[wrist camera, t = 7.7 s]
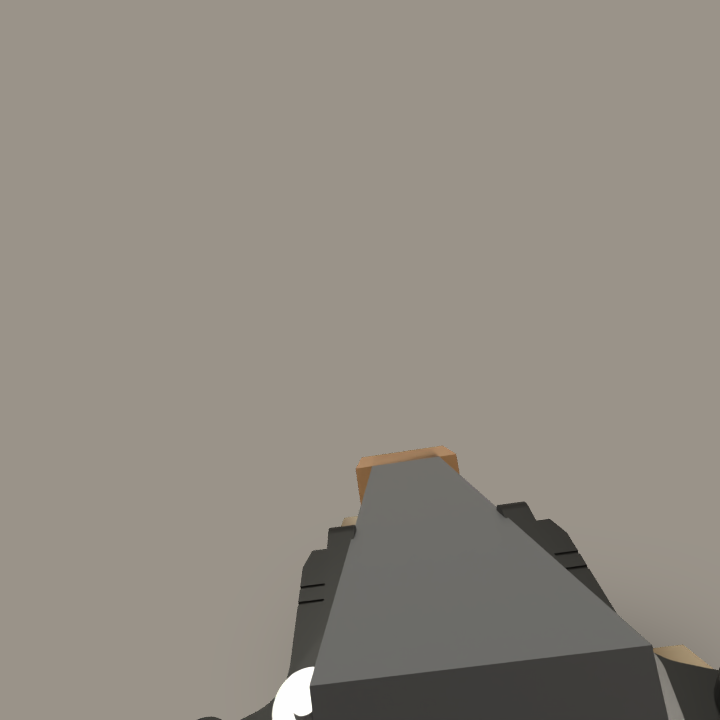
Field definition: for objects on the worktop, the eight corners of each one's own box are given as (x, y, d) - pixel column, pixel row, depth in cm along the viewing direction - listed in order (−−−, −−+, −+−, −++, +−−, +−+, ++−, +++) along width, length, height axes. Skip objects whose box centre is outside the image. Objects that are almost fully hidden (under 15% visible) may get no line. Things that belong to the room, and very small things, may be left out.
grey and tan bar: (267, 1100, 4) (227, 696, 5) (370, 513, 30) (362, 457, 31) (849, 1058, 4) (742, 635, 5) (452, 501, 30) (442, 445, 30)
